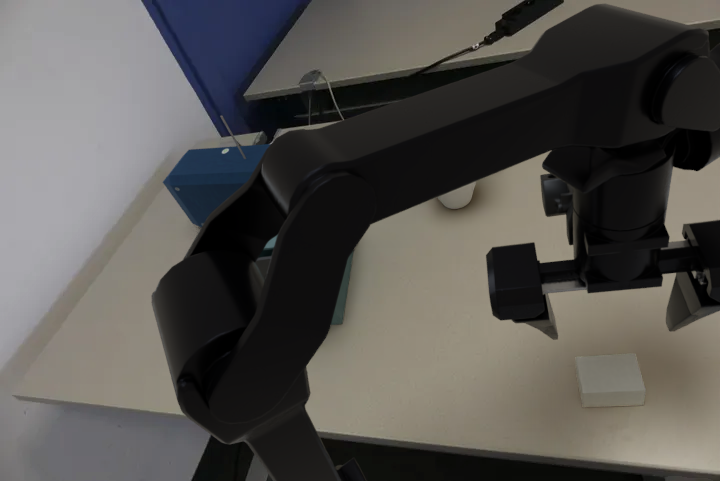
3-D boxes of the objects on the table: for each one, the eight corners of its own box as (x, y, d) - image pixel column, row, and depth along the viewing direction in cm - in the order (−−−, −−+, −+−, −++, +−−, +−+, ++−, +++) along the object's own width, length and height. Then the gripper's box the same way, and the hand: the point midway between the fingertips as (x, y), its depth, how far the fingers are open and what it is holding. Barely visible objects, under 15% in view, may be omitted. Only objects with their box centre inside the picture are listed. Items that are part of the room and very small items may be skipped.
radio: (316, 196, 88) (267, 93, 75) (297, 234, 83) (240, 130, 70) (216, 198, 97) (156, 106, 84) (193, 232, 92) (125, 140, 78)
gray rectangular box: (643, 405, 50) (646, 390, 48) (582, 407, 52) (582, 393, 50) (633, 368, 53) (635, 352, 51) (575, 371, 55) (574, 356, 53)
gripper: (733, 105, 38) (701, 249, 49) (472, 151, 43) (494, 271, 54) (806, 212, 30) (749, 355, 41) (478, 251, 36) (503, 369, 46)
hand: (610, 331), depth 46 cm, fingers open, 9 cm apart
